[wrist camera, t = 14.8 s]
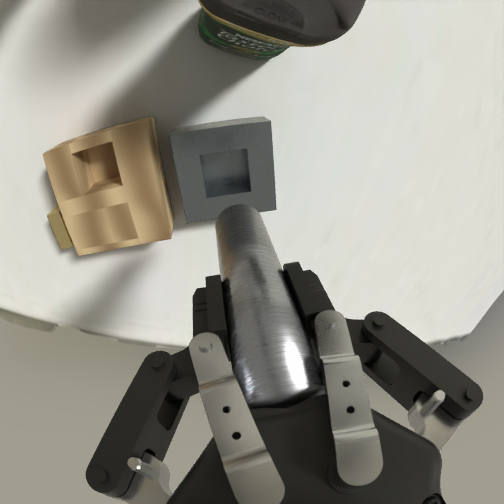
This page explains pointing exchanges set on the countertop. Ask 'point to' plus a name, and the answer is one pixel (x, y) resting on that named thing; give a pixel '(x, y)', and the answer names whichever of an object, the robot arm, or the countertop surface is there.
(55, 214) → the block
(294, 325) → the cylinder
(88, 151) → the socket block
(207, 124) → the grey square holed block
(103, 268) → the countertop surface
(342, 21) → the coffee jar
